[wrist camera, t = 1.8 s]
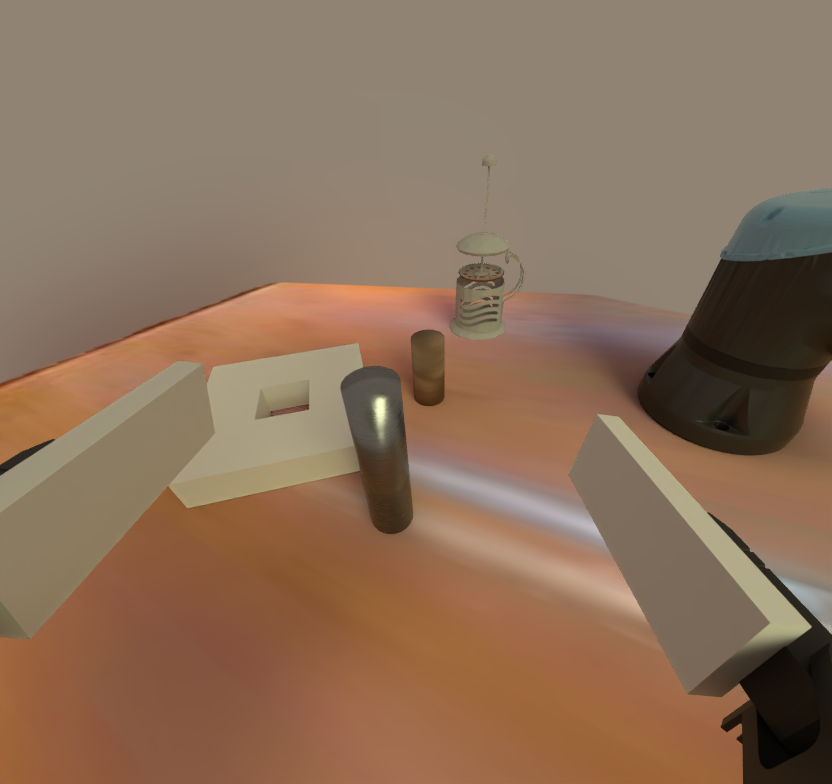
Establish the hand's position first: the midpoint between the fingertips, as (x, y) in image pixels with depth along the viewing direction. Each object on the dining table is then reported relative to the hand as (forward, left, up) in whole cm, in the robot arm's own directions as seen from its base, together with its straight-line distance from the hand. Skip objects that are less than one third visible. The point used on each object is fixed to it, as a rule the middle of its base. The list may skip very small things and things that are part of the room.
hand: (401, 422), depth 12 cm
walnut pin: (-7, -26, -22) cm, 35 cm away
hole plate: (+11, -26, -22) cm, 35 cm away
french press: (-21, -42, -22) cm, 52 cm away
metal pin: (+1, -10, -22) cm, 24 cm away
